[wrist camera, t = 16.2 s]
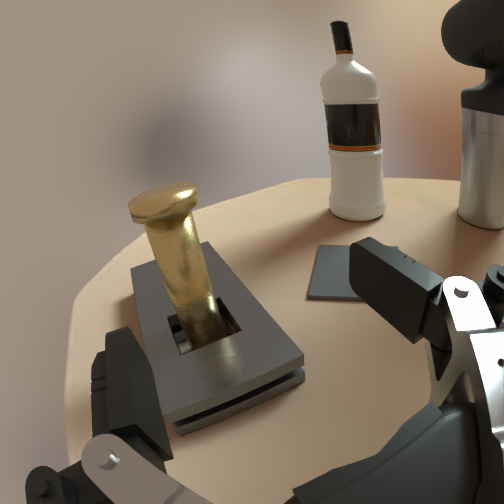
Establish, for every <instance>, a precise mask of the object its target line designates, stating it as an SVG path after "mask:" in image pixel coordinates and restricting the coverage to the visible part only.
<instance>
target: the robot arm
mask: <svg viewBox="0 0 504 504" xmlns="http://www.w3.org/2000/svg"><path fill="white" fill-rule="evenodd" d="M441 36H442V42H443V45H444V47H445V49H446V51H447V52H448V54H449V55H450V56H451V57H452V58H453V59H455V60H456V61H458V62H460V63H462V64H465V65H468V66H473V67H478V68H483V69H485V80H484V82H483V83H482V84H480V85H478V86H476V87H472V88H468V89H465V90H463V91H462V93H461V106H462V137H463V138H462V140H463V141H462V142H463V143H462V170H461V185H460V196H459V205H458V214H459V216H460V217H461V218H462V219H464V220H465V221H467V222H468V223H470V224H473V225H475V226H478V227H481V228H486V229H500V228H503V227H504V0H460V1H459V2H458V3H457V4H455V5H454V6H453V7H452V8H450V9H449V11H448V12H447V13H446V15H445V17H444V20H443V23H442V28H441ZM349 283H350V286H351V288H352V290H353V291H354V293H355V294H356V295H357V296H359V297H360V298H361V299H362V300H363V301H365V302H366V303H367V304H368V305H369V306H370V307H372V308H373V309H374V310H375V311H376V312H377V313H378V314H380V315H381V316H382V317H383V318H384V319H385V320H387V321H388V322H389V323H390V324H391V325H392V326H393V327H395V328H396V329H397V330H398V331H399V332H400V333H401V334H402V335H404V336H405V337H406V338H407V339H408V340H409V341H410V342H411V343H413V344H415V343H416V342H418V341H419V340H420V339H422V338H423V337H425V338H426V339H427V341H426V345H425V347H426V353H427V359H428V365H429V372H430V379H431V396H430V400H429V403H428V404H427V405H426V406H425V407H424V408H423V409H421V410H420V411H419V412H418V413H416V414H415V415H414V416H413V417H411V418H410V419H409V420H407V421H406V422H405V423H404V424H403V425H402V426H401V428H400V429H399V430H398V431H397V432H396V434H395V435H394V436H393V437H392V438H391V439H390V441H389V442H388V443H387V444H386V445H385V446H384V447H383V449H382V450H381V451H380V452H379V453H378V454H376V455H374V456H372V457H369V458H366V459H363V460H361V461H358V462H355V463H352V464H349V465H345V466H342V467H339V468H336V469H332V470H331V471H329V472H327V473H325V474H323V475H321V476H319V477H317V478H315V479H313V480H311V481H309V482H307V483H305V484H303V485H301V486H299V487H296V488H294V489H292V490H293V494H294V496H293V497H291V498H290V499H289V500H288V501H286V502H285V503H284V504H504V323H503V322H502V320H503V318H504V266H502V265H492V266H490V267H489V268H488V270H487V274H486V277H485V280H481V281H478V282H475V283H474V282H472V281H471V280H469V279H467V278H464V277H450V278H448V279H447V280H445V279H444V278H442V277H441V276H439V275H438V274H436V273H435V272H433V271H432V270H430V269H428V268H427V267H425V266H424V265H422V264H421V263H419V262H416V261H415V260H414V259H413V258H411V257H407V255H406V254H404V253H403V252H401V251H400V250H398V249H396V248H392V247H389V246H386V245H383V244H381V243H380V242H378V241H376V240H375V239H373V238H371V237H367V238H365V239H362V240H360V241H357V242H355V243H352V244H351V246H350V249H349ZM91 380H92V383H91V391H92V394H91V409H92V431H93V438H92V439H91V440H90V441H89V442H88V443H87V444H86V445H85V447H84V449H83V451H82V456H81V460H80V461H78V462H77V463H75V464H73V465H71V466H69V467H67V468H66V469H64V470H62V471H60V472H56V471H55V470H53V469H51V468H50V467H47V466H39V467H36V468H35V469H33V470H32V471H31V472H30V474H29V475H28V477H27V480H26V485H25V491H26V501H27V504H213V503H211V502H209V501H208V500H206V499H204V498H202V497H201V496H199V495H198V494H196V493H194V492H193V491H191V490H190V489H188V488H186V487H185V486H183V485H182V484H180V483H179V482H177V481H176V480H174V479H173V478H171V477H170V476H169V475H167V472H166V469H165V465H164V461H168V460H172V459H174V457H173V454H172V450H171V447H170V443H169V440H168V436H167V432H166V428H165V424H164V420H163V416H162V412H161V407H160V403H159V398H158V394H157V389H156V384H155V379H154V374H153V371H152V368H151V365H150V363H149V361H148V359H147V357H146V355H145V354H144V352H143V350H142V349H141V347H140V345H139V343H138V342H137V340H136V338H135V337H134V335H133V333H132V331H131V330H130V328H129V327H128V326H126V327H123V328H120V329H117V330H114V331H111V332H108V333H106V336H105V351H102V352H99V353H97V355H96V357H95V360H94V362H93V364H92V369H91Z"/></svg>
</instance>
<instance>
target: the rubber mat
mask: <svg viewBox="0 0 504 504" xmlns="http://www.w3.org/2000/svg"><path fill="white" fill-rule="evenodd" d="M389 247H392V248H396V249H398V247H396V246H389ZM349 249H350V246H345V245H320V246H319V250H318V255H317V259H316V263H315V268H314V272H313V276H312V280H311V284H310V288H309V292H308V298H311V299H333V300H359V301H363V300H362V299H361V298H360V297H359V296H357V295H356V294H355V293H354V291H353V290H352V288H351V286H350V283H349ZM398 250H399V249H398Z"/></svg>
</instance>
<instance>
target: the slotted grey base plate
mask: <svg viewBox="0 0 504 504" xmlns="http://www.w3.org/2000/svg"><path fill="white" fill-rule="evenodd" d="M200 246H201V249H202V253H203V257H204V260H205V264H206V268H207V271H208V275H209V278H210V282H211V285H212V289H213V292H214V296H215V299H216V303H217V306H218V309H219V313H220V316H221V319H222V323H223V325H224V324H228V325H229V327H230V329H231V330H232V332H233V333H234V334H233V335H231V336H228V337H226V338H223V339H221V340H219V341H216V342H214V343H211V344H209V345H206V346H204V347H201V348H199V349H196V350H194V351H191V352H189V353H186V354H183V355H182V353H181V350H180V347H179V345H178V343H179V342H181V341H184V340H187V338H186V336H185V334H184V331H183V329H182V327H181V324H180V322H179V319H178V317H177V314H176V312H175V309H174V307H173V304H172V302H171V299H170V297H169V294H168V292H167V289H166V286H165V284H164V281H163V278H162V276H161V273H160V270H159V267H158V265H157V262H156V260H153V261H150V262H147V263H145V264H142V265H139V266H136V267H134V268H131V269H130V270H131V277H132V284H133V290H134V296H135V302H136V308H137V313H138V319H139V324H140V329H141V334H142V339H143V343H144V348H145V352H146V357H147V359H148V361H149V363H150V365H151V368H152V371H153V374H154V379H155V384H156V389H157V394H158V398H159V403H160V407H161V412H162V415H163V417H164V418H165V419H166V420H167V422H168V423H169V424H170V423H172V426H173V429H174V430H175V431H176V433H177V434H178V435H179V436H182V435H185V434H187V433H190V432H193V431H196V430H198V429H201V428H204V427H206V426H209V425H211V424H214V423H216V422H219V421H221V420H224V419H226V418H229V417H231V416H233V415H236V414H238V413H240V412H242V411H245V410H247V409H249V408H251V407H254V406H256V405H258V404H260V403H262V402H264V401H266V400H268V399H271V398H273V397H275V396H277V395H279V394H281V393H283V392H285V391H287V390H288V389H290V388H292V387H294V386H296V385H298V384H300V383H302V382H304V381H305V371H304V370H303V369H302V368H301V366H303V365H304V354H303V353H302V351H301V350H300V349H299V348H298V347H297V346H296V345H295V343H294V342H293V341H292V340H291V339H290V338H289V337H288V335H287V334H286V333H285V332H284V331H283V330H282V329H281V327H280V326H279V325H278V324H277V323H276V322H275V321H274V319H273V318H272V317H271V316H270V315H269V314H268V312H267V311H266V310H265V309H264V308H263V307H262V305H261V304H260V303H259V302H258V301H257V300H256V298H255V297H254V296H253V295H252V294H251V293H250V291H249V290H248V289H247V288H246V287H245V285H244V284H243V283H242V282H241V281H240V280H239V278H238V277H237V276H236V275H235V274H234V272H233V271H232V270H231V269H230V268H229V266H228V265H227V264H226V263H225V262H224V260H223V259H222V258H221V257H220V256H219V254H218V253H217V252H216V251H215V250H214V248H213V247H212V246H211V245H210V244H209V242H208V241H206V242H203V243H201V244H200Z"/></svg>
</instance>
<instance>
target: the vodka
mask: <svg viewBox="0 0 504 504" xmlns="http://www.w3.org/2000/svg"><path fill="white" fill-rule="evenodd" d="M330 25H331V29H332V34H333V40H334V46H335V51H336V59H337V63H336V64H335V65H333V66H332V67H331V68H330V69H328V70H327V71H326V72H325V73H324V74H323V75H322V77H321V82H320V84H321V90H322V94H323V98H324V100H323V103H324V106H325V114H326V122H327V132H328V142H329V148H330V149H329V151H328V153H329V156H330V163H331V192H330V196H329V207H330V209H331V211H332V213H333V214H334V215H336V216H338V217H340V218H342V219H345V220H350V221H368V220H373V219H375V218H377V217H379V216H381V215H382V214H383V213H384V212H385V209H386V196H385V193H384V182H383V170H382V154H383V150H382V149H381V133H380V119H379V107H378V102H379V98H378V83H377V80H376V78H375V76H374V74H373V73H372V72H370V71H369V70H367V69H366V68H364V67H363V66H361V65H359V64H358V63H356V62H355V60H354V55H353V48H352V43H351V37H350V32H349V27H348V23H347V22H345V21H334V22H332V23H331V24H330Z"/></svg>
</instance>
